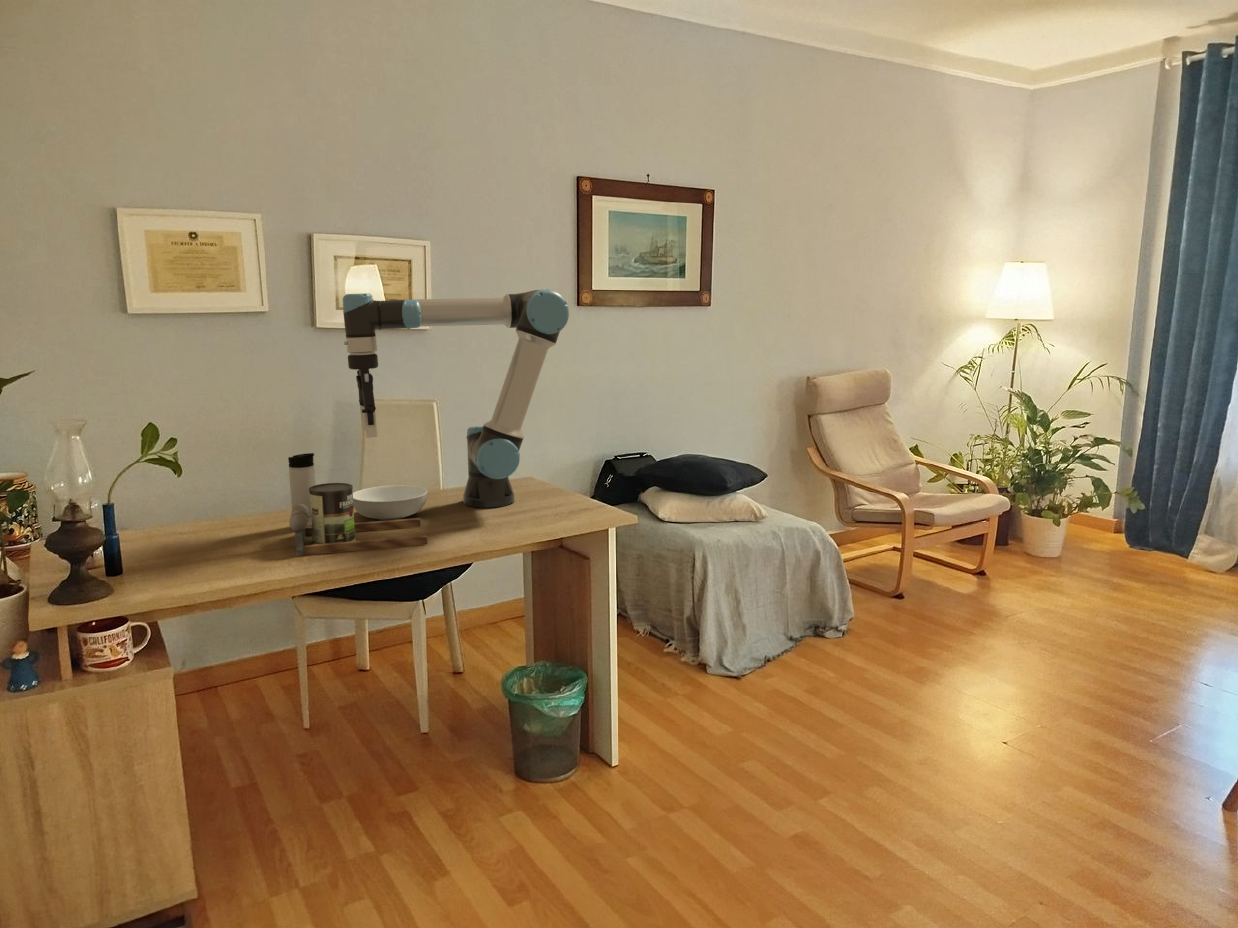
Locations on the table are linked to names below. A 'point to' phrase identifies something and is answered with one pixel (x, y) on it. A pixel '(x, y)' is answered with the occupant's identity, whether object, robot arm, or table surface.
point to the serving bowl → (389, 501)
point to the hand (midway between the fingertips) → (369, 433)
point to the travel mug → (302, 480)
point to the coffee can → (332, 513)
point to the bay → (300, 522)
